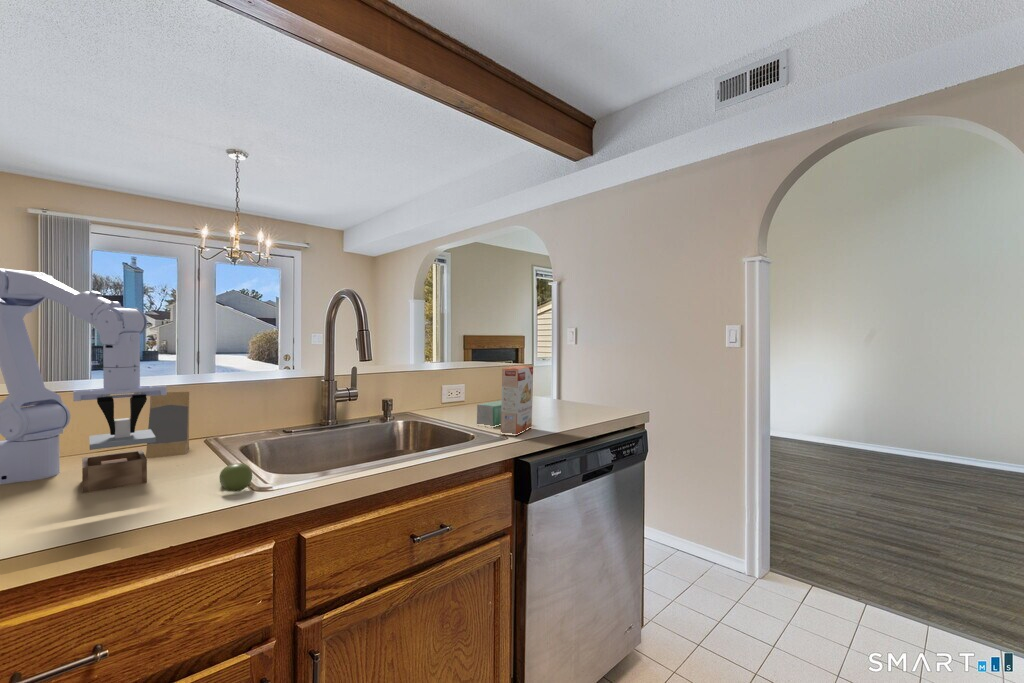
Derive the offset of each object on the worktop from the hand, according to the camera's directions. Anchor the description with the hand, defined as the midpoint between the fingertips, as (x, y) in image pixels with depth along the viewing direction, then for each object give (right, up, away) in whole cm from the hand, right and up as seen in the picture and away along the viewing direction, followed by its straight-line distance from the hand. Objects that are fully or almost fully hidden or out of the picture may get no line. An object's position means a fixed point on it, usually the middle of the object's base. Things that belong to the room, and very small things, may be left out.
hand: (122, 433), depth 96 cm
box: (+75, -10, +67) cm, 101 cm away
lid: (0, -2, 0) cm, 2 cm away
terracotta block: (-1, -10, -1) cm, 10 cm away
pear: (+23, -11, -1) cm, 26 cm away
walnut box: (-1, -10, -1) cm, 10 cm away
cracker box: (+81, -11, +54) cm, 98 cm away
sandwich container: (-8, -10, +24) cm, 27 cm away
